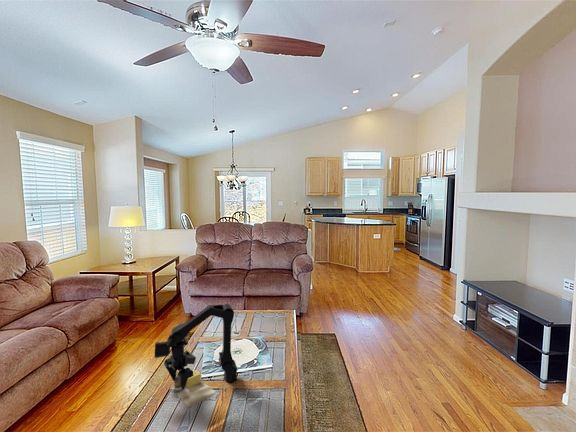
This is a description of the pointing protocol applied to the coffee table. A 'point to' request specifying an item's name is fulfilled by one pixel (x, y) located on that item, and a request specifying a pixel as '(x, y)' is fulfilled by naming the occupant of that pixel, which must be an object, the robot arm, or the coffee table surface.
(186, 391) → the plywood panel
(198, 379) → the block
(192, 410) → the coffee table surface
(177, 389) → the peg
